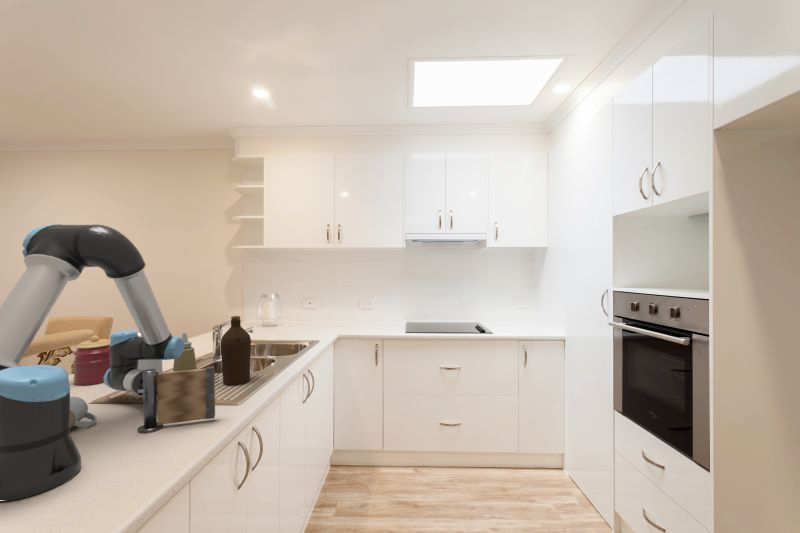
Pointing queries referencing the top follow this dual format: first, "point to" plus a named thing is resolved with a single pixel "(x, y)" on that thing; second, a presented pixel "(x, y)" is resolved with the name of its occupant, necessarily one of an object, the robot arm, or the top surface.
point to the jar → (150, 363)
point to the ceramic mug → (80, 413)
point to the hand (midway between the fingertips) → (195, 391)
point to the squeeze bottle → (185, 357)
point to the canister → (91, 361)
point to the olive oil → (236, 354)
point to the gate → (186, 395)
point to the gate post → (149, 403)
